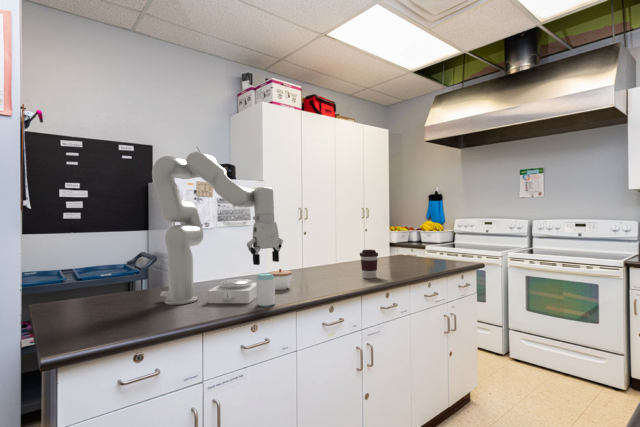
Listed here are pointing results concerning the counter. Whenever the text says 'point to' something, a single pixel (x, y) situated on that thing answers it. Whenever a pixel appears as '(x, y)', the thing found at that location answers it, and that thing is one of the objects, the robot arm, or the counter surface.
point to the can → (265, 289)
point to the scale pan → (235, 283)
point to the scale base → (232, 294)
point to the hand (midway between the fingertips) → (266, 263)
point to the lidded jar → (282, 279)
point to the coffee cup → (369, 263)
